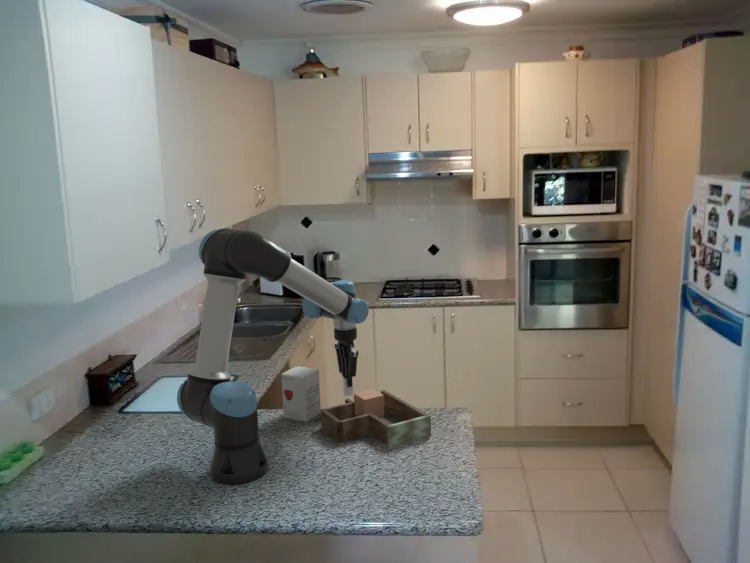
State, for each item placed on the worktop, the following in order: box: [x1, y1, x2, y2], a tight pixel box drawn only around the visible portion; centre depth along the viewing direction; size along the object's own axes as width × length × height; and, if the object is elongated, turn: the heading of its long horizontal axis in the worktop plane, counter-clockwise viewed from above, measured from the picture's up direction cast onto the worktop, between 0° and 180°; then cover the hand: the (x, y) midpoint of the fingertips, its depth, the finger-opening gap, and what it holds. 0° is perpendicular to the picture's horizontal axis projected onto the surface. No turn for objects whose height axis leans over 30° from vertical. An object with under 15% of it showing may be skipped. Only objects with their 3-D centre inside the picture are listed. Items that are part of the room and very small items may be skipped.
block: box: [353, 388, 385, 418], centre depth 217 cm, size 7×7×7 cm
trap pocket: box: [320, 402, 371, 443], centre depth 205 cm, size 11×12×6 cm
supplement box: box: [280, 365, 322, 423], centre depth 217 cm, size 9×9×15 cm
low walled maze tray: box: [344, 389, 432, 448], centre depth 207 cm, size 14×27×6 cm, turn 30°
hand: (348, 394), depth 229 cm, fingers closed
